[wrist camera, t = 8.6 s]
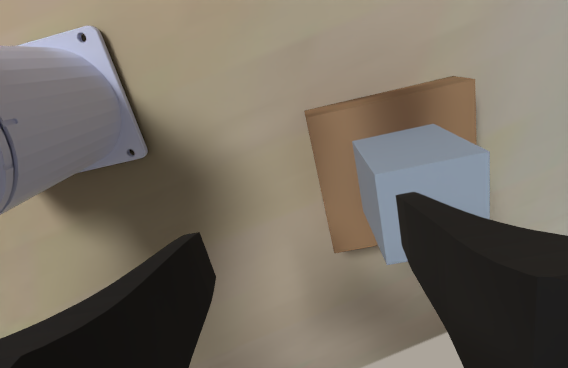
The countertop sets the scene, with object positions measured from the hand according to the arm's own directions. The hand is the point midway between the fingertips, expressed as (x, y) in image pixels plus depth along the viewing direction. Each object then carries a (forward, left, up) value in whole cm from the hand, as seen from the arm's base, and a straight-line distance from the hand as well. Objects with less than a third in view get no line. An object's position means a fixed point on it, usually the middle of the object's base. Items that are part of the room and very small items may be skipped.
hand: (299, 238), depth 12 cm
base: (+6, -2, -10) cm, 12 cm away
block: (+6, -1, -8) cm, 10 cm away
